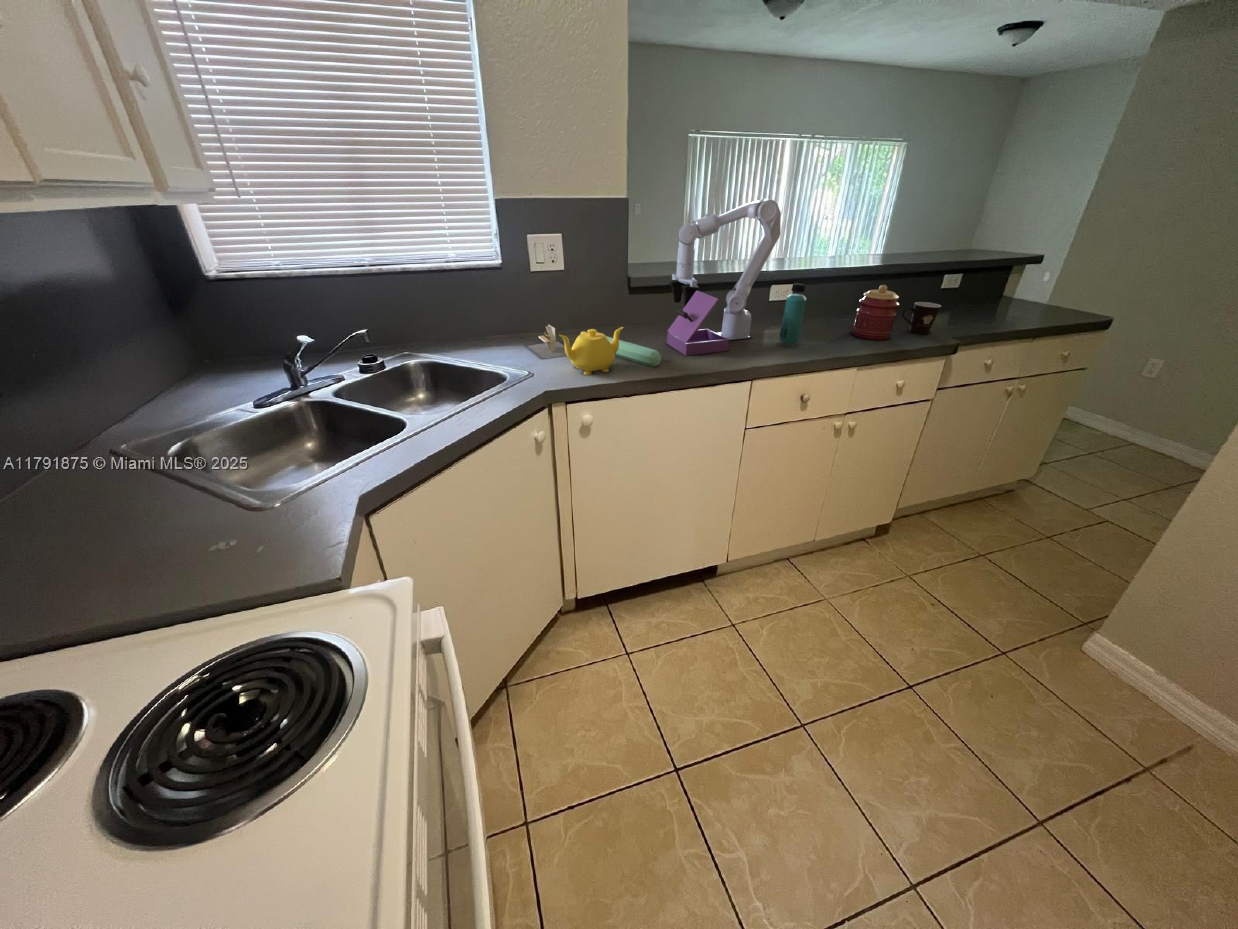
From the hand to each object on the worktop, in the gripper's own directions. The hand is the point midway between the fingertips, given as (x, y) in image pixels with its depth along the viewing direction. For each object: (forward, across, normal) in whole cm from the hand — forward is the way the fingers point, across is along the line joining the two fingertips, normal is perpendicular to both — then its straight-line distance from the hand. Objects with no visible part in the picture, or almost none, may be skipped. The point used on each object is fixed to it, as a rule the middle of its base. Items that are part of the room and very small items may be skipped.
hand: (682, 304), depth 171 cm
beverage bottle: (+11, +24, +29) cm, 39 cm away
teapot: (+11, +24, -42) cm, 50 cm away
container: (+11, +19, -29) cm, 36 cm away
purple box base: (+10, +16, -2) cm, 19 cm away
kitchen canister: (+11, +24, +66) cm, 71 cm away
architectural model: (+11, +3, -49) cm, 50 cm away
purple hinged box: (0, +16, -5) cm, 17 cm away
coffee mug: (+11, +25, +87) cm, 91 cm away
